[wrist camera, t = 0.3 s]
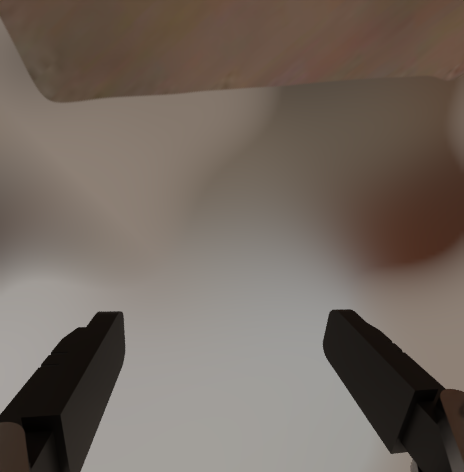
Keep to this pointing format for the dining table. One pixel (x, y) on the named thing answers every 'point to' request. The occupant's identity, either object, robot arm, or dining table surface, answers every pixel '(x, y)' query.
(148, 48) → the dining table surface
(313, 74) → the dining table surface
